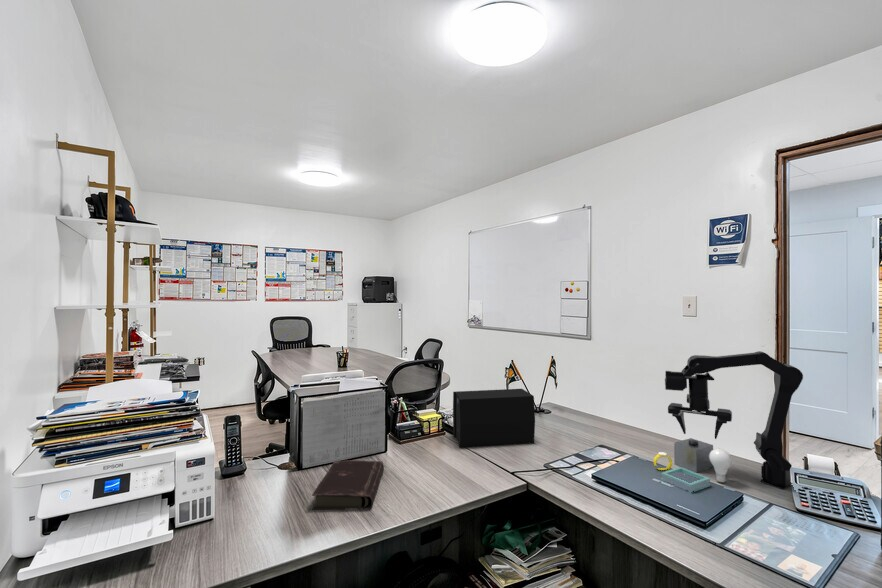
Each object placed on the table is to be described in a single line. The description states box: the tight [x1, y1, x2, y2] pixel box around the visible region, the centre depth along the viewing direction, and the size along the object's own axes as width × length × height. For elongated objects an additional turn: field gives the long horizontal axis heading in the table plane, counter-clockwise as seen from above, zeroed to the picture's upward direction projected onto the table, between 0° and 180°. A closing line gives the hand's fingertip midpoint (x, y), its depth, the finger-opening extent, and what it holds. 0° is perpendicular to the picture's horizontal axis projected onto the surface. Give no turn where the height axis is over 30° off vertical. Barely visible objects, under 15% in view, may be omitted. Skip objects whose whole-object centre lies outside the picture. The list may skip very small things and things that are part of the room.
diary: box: [311, 459, 385, 511], centre depth 131 cm, size 19×25×5 cm
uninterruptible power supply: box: [452, 388, 536, 449], centre depth 176 cm, size 16×34×20 cm, turn 99°
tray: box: [660, 466, 711, 494], centre depth 134 cm, size 10×10×2 cm
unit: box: [673, 437, 714, 474], centre depth 148 cm, size 8×10×9 cm
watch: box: [653, 451, 673, 472], centre depth 144 cm, size 6×3×6 cm, turn 90°
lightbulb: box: [709, 447, 733, 484], centre depth 135 cm, size 6×6×11 cm
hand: (699, 436), depth 143 cm, fingers open, 9 cm apart
